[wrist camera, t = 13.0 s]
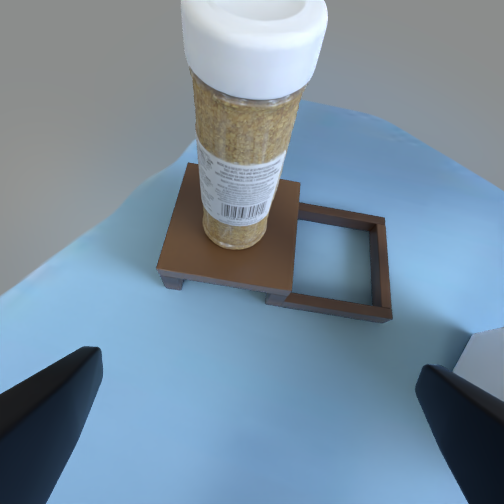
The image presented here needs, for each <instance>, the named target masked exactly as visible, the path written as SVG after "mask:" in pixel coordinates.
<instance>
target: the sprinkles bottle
mask: <svg viewBox="0 0 504 504" xmlns="http://www.w3.org/2000/svg"><path fill="white" fill-rule="evenodd" d="M181 13H182V28H183V40H184V50H185V56H186V59H187V62H188V64H189V70H190V74H191V76H192V78H193V89H194V102H195V108H196V109H195V113H196V124H195V127H196V129H195V130H196V141H197V153H198V164H199V176H200V189H201V199H202V202H203V211H204V215H203V227H204V230H205V233H206V234H207V236H208V237H209V238H210V239H211V240H212V241H213V242H214V243H215V244H217V245H219V246H221V247H223V248H226V249H231V250H236V249H238V250H240V249H245V248H249V247H251V246H253V245H254V244H256V243H257V242H258V241H259V240H260V239H261V238H262V236H263V235H264V233H265V231H266V227H267V218H268V215H269V211H270V207H271V204H272V201H273V199H274V197H275V193H276V190H277V187H278V183H279V180H280V176H281V173H282V169H283V163H284V159H285V156H286V153H287V148H288V145H289V142H290V138H291V132H292V129H293V126H294V123H295V119H296V115H297V111H298V107H299V102H300V100H301V96H302V93H303V92H304V90H305V88H306V86H307V85H308V82H309V80H310V79H311V77H312V75H313V72H314V70H315V67H316V63H317V60H318V56H319V53H320V49H321V45H322V41H323V38H324V34H325V30H326V27H327V20H328V13H327V7H326V4H325V2H324V0H181Z"/></svg>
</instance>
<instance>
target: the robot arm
mask: <svg viewBox="0 0 504 504" xmlns="http://www.w3.org/2000/svg"><path fill="white" fill-rule="evenodd" d="M102 378H103V364H102V352H101V349H100V348H99V347H90V346H84V347H81V348H79V349H78V350H76V351H74V352H72V353H71V354H69V355H67V356H66V357H64V358H62V359H60V360H59V361H57V362H55V363H53V364H52V365H50V366H48V367H47V368H45V369H43V370H41V371H40V372H38V373H36V374H34V375H33V376H31V377H29V378H28V379H26V380H24V381H22V382H21V383H19V384H17V385H15V386H14V387H12V388H10V389H9V390H7V391H5V392H3V393H2V394H0V504H46V502H47V501H48V499H49V497H50V495H51V493H52V491H53V489H54V487H55V485H56V483H57V481H58V479H59V477H60V475H61V473H62V471H63V469H64V467H65V465H66V463H67V462H68V460H69V458H70V456H71V454H72V452H73V450H74V448H75V446H76V444H77V441H78V439H79V437H80V434H81V432H82V430H83V427H84V425H85V422H86V419H87V417H88V414H89V412H90V409H91V407H92V404H93V402H94V399H95V397H96V394H97V392H98V389H99V386H100V384H101V381H102ZM415 392H416V396H417V398H418V400H419V403H420V405H421V407H422V410H423V412H424V414H425V417H426V419H427V421H428V423H429V426H430V428H431V430H432V433H433V435H434V437H435V440H436V442H437V444H438V446H439V448H440V451H441V453H442V455H443V457H444V459H445V460H446V462H447V464H448V466H449V468H450V470H451V472H452V474H453V475H454V477H455V479H456V481H457V483H458V485H459V487H460V488H461V490H462V492H463V494H464V496H465V498H466V500H467V502H468V503H469V504H504V401H502V400H500V399H498V398H497V397H495V396H493V395H491V394H490V393H488V392H486V391H484V390H483V389H481V388H479V387H477V386H476V385H474V384H472V383H470V382H469V381H467V380H465V379H464V378H462V377H460V376H458V375H457V374H455V373H453V372H451V371H450V370H448V369H446V368H444V367H443V366H441V365H433V364H426V365H424V366H423V367H422V370H421V372H420V375H419V378H418V381H417V383H416V386H415Z"/></svg>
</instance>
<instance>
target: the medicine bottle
mask: <svg viewBox="0 0 504 504" xmlns="http://www.w3.org/2000/svg"><path fill="white" fill-rule="evenodd" d="M452 372H453V373H455V374H457V375H458V376H460V377H462V378H464V379H465V380H467V381H469V382H470V383H472V384H474V385H476V386H477V387H479V388H481V389H483V390H484V391H486V392H488V393H490V394H491V395H493V396H495V397H497V398H498V399H500V400H502V401H504V327H502V328H497V329H493V330H488V331H483V332H479V333H475V334H473V335H472V336H471V338H470V340H469V342H468V344H467V345H466V347H465V349H464V351H463V353H462V355H461V356H460V358H459V360H458V362H457V364H456V366H455V367H454V369H453V371H452Z"/></svg>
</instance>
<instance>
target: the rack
mask: <svg viewBox="0 0 504 504" xmlns="http://www.w3.org/2000/svg"><path fill="white" fill-rule="evenodd" d="M299 195H300V183H299V182H294V181H288V180H283V179H280V180H279V183H278V187H277V190H276V193H275V197H274V199H273V201H272V204H271V207H270V211H269V215H268V218H267V227H266V231H265V233H264V235H263V236H262V238H261V239H260V240H259V241H258V242H257V243H256V244H254V245H253V246H251V247H249V248H245V249H240V250H238V249H236V250H231V249H226V248H223V247H221V246H219V245H217V244H215V243H214V242H213V241H212V240H211V239H210V238H209V237H208V236H207V234H206V233H205V230H204V227H203V215H204V211H203V202H202V199H201V189H200V176H199V164H194V163H188V164H187V167H186V171H185V174H184V177H183V181H182V184H181V187H180V191H179V194H178V197H177V201H176V204H175V207H174V211H173V214H172V217H171V221H170V224H169V227H168V231H167V234H166V237H165V241H164V244H163V247H162V250H161V254H160V257H159V260H158V264H157V267H156V269H157V271H158V273H159V275H160V277H161V279H162V281H163V283H164V285H165V287H166V288H169V289H175V290H181V289H182V285H183V281H184V279H186V280H192V281H198V282H204V283H211V284H217V285H223V286H229V287H235V288H241V289H247V290H253V291H259V292H265V293H266V300H265V304H267V305H273V306H281V307H285V308H292V309H298V310H304V311H310V312H316V313H322V314H328V315H335V316H341V317H347V318H353V319H359V320H365V321H371V322H378V323H384V322H387V321H389V320H392V319H393V318H392V309H391V308H392V307H391V293H390V280H389V266H388V253H387V239H386V226H385V218H384V217H379V216H373V215H367V214H362V213H356V212H350V211H345V210H339V209H334V208H328V207H322V206H317V205H311V204H305V203H300V202H299ZM298 219H301V220H306V221H312V222H318V223H324V224H329V225H335V226H341V227H346V228H352V229H358V230H363V231H369V240H370V262H371V284H372V306H370V305H364V304H358V303H352V302H346V301H340V300H334V299H328V298H322V297H316V296H310V295H303V294H297V293H291V291H292V283H293V271H294V258H295V245H296V233H297V220H298Z"/></svg>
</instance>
